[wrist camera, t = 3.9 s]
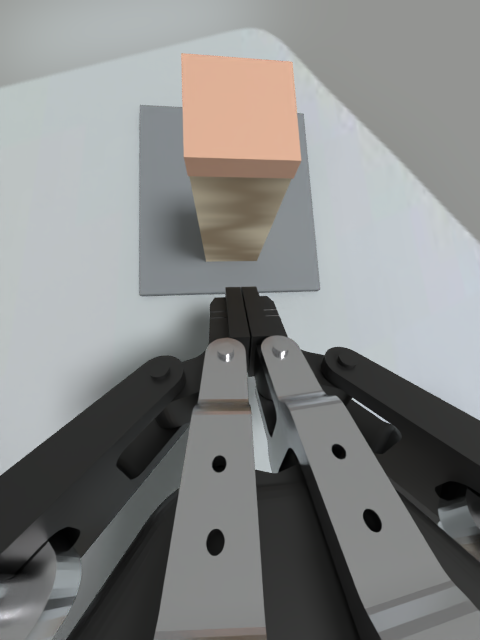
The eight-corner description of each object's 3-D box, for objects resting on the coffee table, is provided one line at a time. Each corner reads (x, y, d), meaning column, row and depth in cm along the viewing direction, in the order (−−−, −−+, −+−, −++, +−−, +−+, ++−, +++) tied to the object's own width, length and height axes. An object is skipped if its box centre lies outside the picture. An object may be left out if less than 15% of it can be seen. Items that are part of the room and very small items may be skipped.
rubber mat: (142, 296, 16) (139, 294, 15) (142, 111, 17) (139, 105, 17) (317, 290, 17) (320, 289, 16) (301, 119, 19) (303, 113, 18)
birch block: (205, 262, 16) (183, 157, 7) (203, 212, 16) (181, 53, 7) (257, 261, 16) (301, 160, 7) (254, 213, 17) (292, 61, 8)
